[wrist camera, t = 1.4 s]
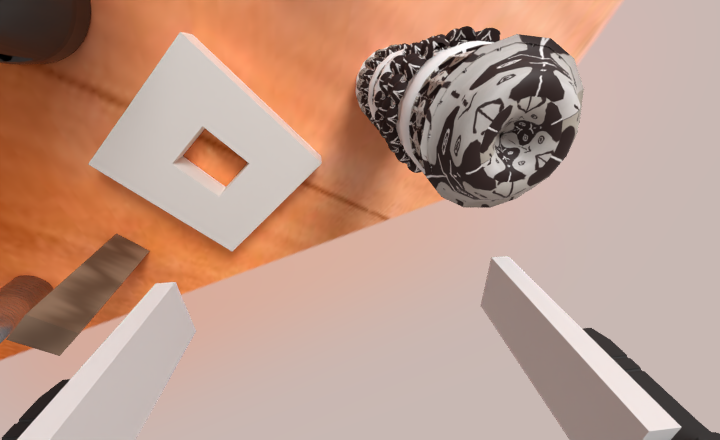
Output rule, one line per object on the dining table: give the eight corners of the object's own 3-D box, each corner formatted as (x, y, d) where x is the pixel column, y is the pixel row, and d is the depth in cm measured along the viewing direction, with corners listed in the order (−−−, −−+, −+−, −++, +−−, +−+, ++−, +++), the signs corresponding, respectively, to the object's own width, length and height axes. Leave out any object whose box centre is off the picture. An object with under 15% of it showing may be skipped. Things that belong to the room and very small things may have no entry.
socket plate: (105, 155, 33) (88, 164, 30) (192, 34, 28) (180, 32, 26) (237, 239, 41) (232, 251, 38) (321, 155, 36) (321, 163, 34)
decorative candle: (408, 24, 30) (628, -53, 9) (436, 102, 35) (625, 173, 14) (337, 70, 32) (384, 97, 10) (374, 139, 36) (457, 257, 15)
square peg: (100, 253, 39) (6, 339, 27) (116, 233, 38) (25, 314, 26) (133, 269, 41) (59, 355, 29) (149, 251, 40) (79, 333, 28)
